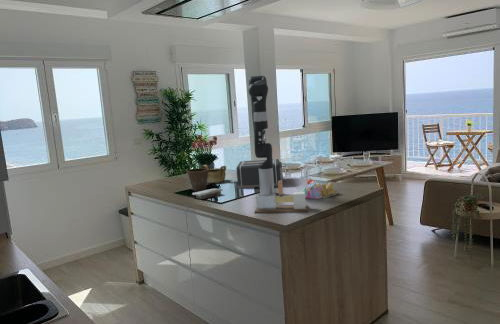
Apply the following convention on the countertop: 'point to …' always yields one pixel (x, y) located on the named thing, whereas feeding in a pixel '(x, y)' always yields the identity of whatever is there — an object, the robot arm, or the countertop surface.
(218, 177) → the woven basket
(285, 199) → the sliding latch bolt
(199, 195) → the packaged product
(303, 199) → the socket
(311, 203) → the countertop surface
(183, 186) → the countertop surface
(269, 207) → the sleeve
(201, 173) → the plant pot
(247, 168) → the toaster
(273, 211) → the base board
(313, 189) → the candy landscape model
